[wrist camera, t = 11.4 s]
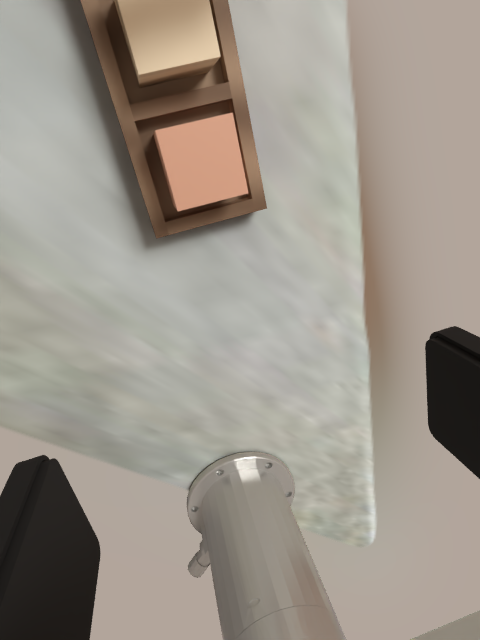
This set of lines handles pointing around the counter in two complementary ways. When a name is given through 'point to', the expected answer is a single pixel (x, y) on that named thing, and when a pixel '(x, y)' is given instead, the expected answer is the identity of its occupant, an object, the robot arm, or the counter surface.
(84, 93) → the counter surface
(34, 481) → the robot arm
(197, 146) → the brick cube
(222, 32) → the walnut tray
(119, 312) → the counter surface
